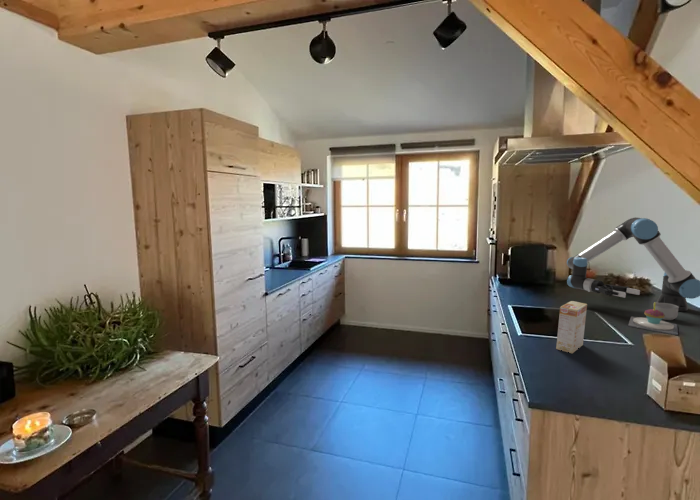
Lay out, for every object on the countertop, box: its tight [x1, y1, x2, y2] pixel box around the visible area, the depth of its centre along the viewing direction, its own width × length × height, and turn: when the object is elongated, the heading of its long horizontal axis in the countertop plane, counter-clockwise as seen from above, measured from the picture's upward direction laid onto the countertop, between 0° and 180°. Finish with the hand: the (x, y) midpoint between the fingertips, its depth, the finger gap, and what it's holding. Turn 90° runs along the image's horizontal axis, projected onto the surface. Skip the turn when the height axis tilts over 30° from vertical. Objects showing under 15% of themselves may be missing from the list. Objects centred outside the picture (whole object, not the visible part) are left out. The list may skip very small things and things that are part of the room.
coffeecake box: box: [555, 300, 588, 354], centre depth 170 cm, size 15×7×20 cm, turn 133°
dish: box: [627, 316, 679, 336], centre depth 203 cm, size 20×20×2 cm
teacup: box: [652, 301, 679, 321], centre depth 217 cm, size 14×11×8 cm
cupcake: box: [644, 301, 665, 324], centre depth 202 cm, size 9×8×12 cm
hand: (632, 293), depth 212 cm, fingers open, 13 cm apart
